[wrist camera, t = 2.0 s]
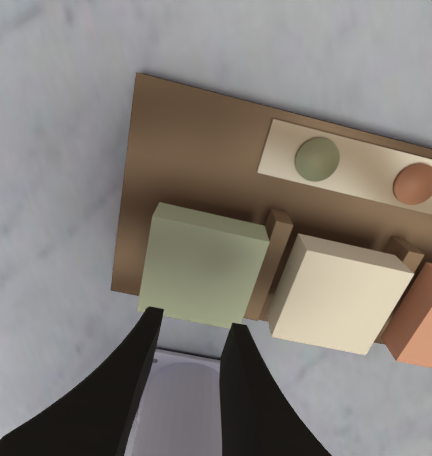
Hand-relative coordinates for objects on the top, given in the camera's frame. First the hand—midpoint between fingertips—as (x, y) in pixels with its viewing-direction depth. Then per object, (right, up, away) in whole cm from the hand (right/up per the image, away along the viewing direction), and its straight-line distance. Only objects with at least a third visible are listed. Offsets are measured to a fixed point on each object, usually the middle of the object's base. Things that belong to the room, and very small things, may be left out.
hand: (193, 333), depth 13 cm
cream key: (+8, +1, +6) cm, 10 cm away
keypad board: (+8, +4, +8) cm, 13 cm away
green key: (0, +3, +6) cm, 6 cm away
